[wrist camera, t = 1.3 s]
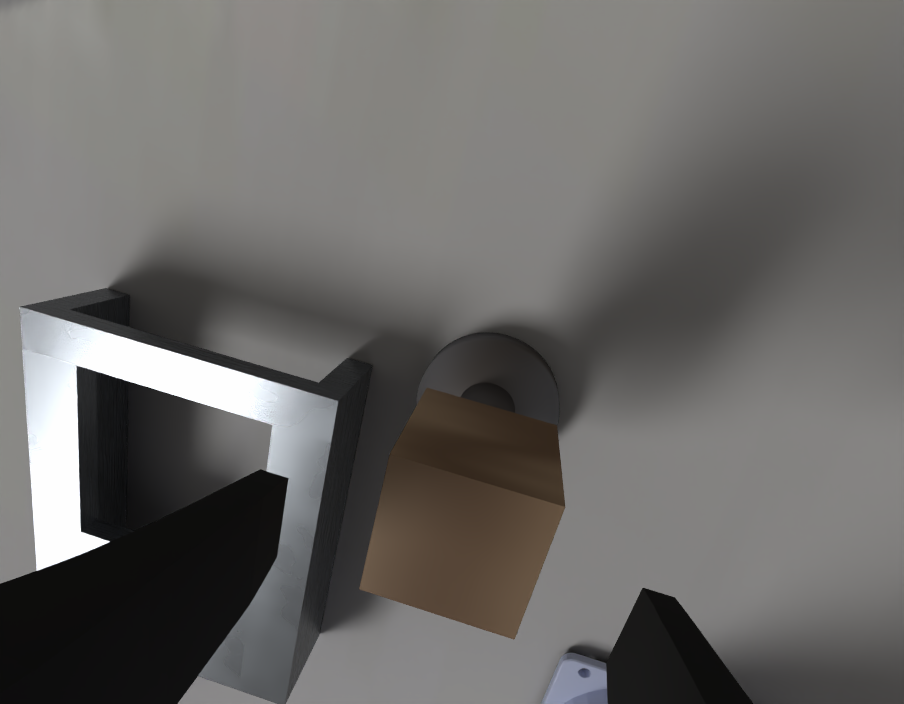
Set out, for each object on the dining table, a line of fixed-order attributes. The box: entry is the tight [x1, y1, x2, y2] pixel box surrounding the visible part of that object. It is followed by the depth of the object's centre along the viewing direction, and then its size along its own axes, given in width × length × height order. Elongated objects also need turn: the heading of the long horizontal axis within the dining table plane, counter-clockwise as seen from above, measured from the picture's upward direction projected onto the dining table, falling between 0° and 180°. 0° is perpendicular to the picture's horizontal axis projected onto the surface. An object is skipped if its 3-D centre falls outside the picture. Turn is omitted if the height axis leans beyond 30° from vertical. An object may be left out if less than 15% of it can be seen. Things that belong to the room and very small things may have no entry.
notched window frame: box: [20, 288, 373, 704], centre depth 19 cm, size 11×14×3 cm
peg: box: [359, 333, 565, 639], centre depth 14 cm, size 5×5×8 cm
